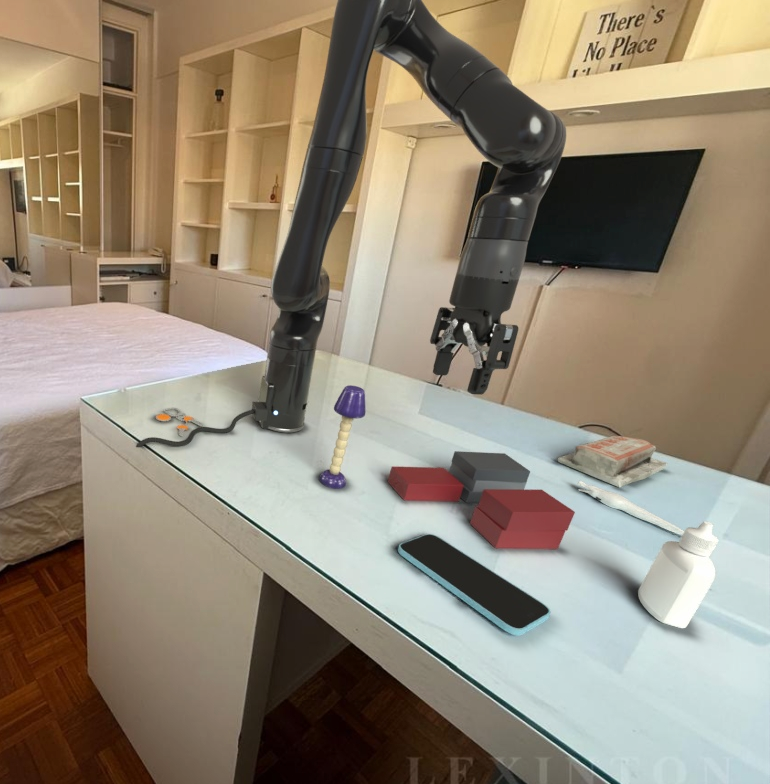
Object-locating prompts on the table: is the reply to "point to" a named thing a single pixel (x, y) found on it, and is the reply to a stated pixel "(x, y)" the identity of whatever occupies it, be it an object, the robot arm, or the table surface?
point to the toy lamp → (344, 432)
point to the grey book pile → (486, 473)
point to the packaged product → (615, 460)
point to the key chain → (182, 427)
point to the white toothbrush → (627, 507)
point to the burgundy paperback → (425, 484)
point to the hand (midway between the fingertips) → (456, 383)
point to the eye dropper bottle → (680, 577)
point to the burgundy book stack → (521, 519)
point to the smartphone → (475, 584)
